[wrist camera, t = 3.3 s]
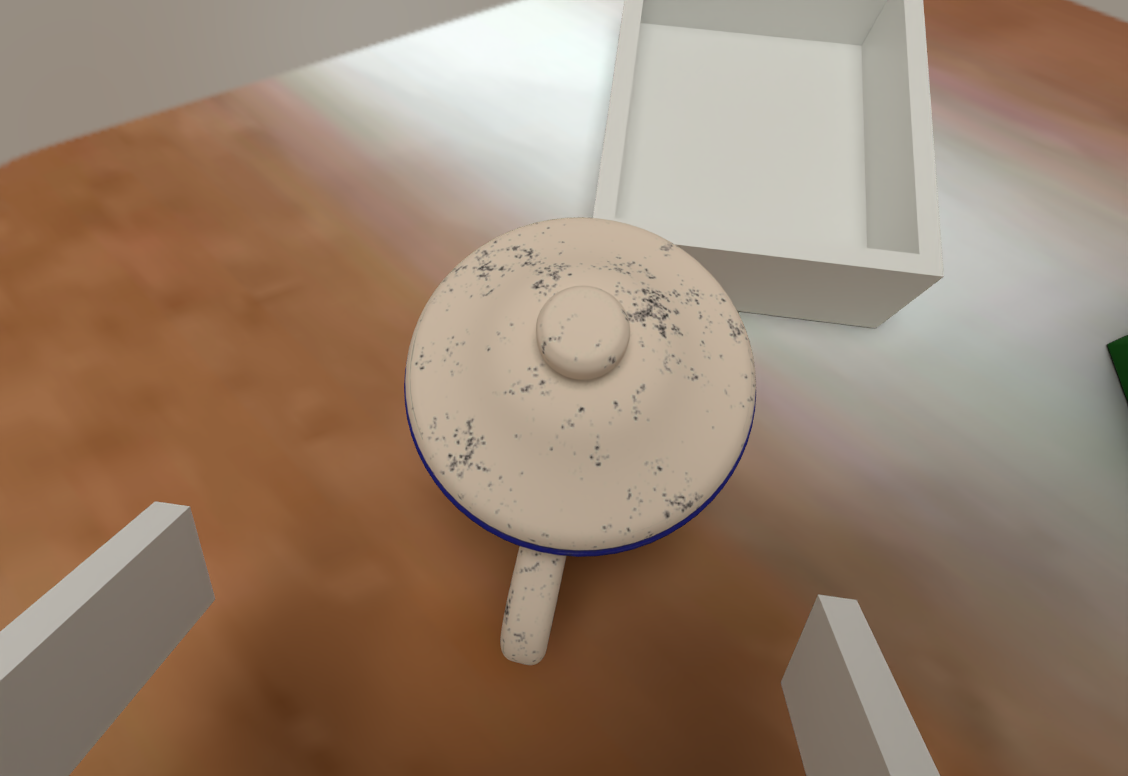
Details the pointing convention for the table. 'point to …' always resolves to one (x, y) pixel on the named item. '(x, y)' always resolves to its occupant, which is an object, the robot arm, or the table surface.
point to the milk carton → (1121, 360)
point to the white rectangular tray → (780, 150)
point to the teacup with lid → (577, 398)
